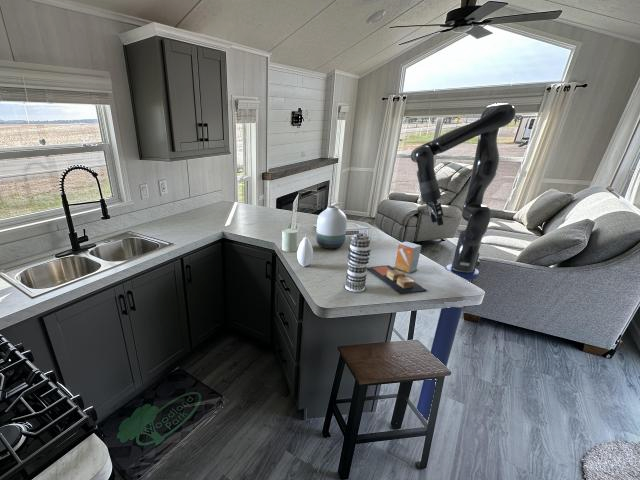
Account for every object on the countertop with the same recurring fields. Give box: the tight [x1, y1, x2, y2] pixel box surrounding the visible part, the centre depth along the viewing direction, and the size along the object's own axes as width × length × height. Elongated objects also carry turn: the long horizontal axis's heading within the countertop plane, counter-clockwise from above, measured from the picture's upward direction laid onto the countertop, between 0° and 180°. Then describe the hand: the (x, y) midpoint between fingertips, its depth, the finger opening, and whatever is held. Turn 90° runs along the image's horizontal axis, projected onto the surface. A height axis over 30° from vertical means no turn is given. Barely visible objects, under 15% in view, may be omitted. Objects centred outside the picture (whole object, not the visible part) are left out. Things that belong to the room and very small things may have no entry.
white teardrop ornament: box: [296, 235, 314, 267], centre depth 168 cm, size 8×8×18 cm
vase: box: [315, 205, 348, 250], centre depth 193 cm, size 17×17×24 cm
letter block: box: [397, 276, 416, 288], centre depth 146 cm, size 5×5×3 cm
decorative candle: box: [345, 232, 372, 293], centre depth 142 cm, size 9×9×25 cm
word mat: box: [366, 265, 427, 295], centre depth 154 cm, size 12×28×1 cm, turn 10°
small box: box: [394, 241, 422, 274], centre depth 161 cm, size 8×6×13 cm
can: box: [281, 228, 299, 253], centre depth 193 cm, size 9×9×12 cm
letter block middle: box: [387, 269, 404, 281], centre depth 153 cm, size 5×5×3 cm
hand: (437, 223), depth 152 cm, fingers open, 8 cm apart
